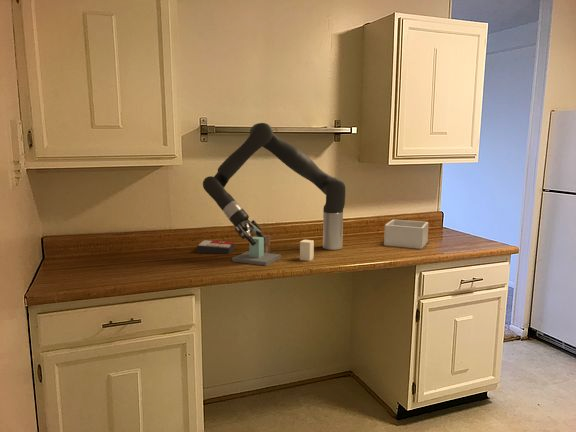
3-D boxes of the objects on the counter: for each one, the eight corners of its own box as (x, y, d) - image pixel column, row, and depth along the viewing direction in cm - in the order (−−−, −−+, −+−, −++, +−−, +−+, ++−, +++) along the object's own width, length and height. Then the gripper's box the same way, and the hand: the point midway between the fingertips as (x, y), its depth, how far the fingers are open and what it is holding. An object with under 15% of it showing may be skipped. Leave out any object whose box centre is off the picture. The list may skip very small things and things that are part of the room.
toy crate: (392, 238, 246) (392, 219, 244) (427, 241, 238) (428, 222, 237) (384, 245, 230) (384, 225, 228) (421, 248, 222) (422, 228, 221)
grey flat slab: (248, 254, 211) (248, 250, 211) (280, 257, 204) (280, 254, 204) (232, 261, 198) (232, 257, 198) (266, 265, 192) (266, 262, 192)
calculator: (229, 246, 211) (196, 244, 212) (228, 256, 211) (196, 253, 213) (234, 241, 221) (203, 239, 223) (234, 250, 222) (203, 247, 224)
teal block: (254, 254, 204) (254, 236, 203) (263, 255, 202) (263, 237, 201) (249, 256, 200) (249, 238, 199) (258, 257, 198) (258, 239, 197)
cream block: (303, 257, 206) (304, 239, 204) (313, 258, 204) (313, 240, 202) (299, 259, 202) (300, 241, 200) (309, 261, 200) (309, 242, 198)
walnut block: (261, 251, 216) (261, 234, 215) (270, 252, 214) (270, 235, 213) (256, 253, 212) (256, 236, 211) (265, 254, 210) (265, 237, 209)
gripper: (232, 210, 194) (257, 240, 192) (249, 206, 207) (272, 233, 204) (221, 222, 198) (245, 251, 195) (238, 217, 210) (261, 244, 207)
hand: (259, 242), depth 200 cm, fingers open, 8 cm apart
